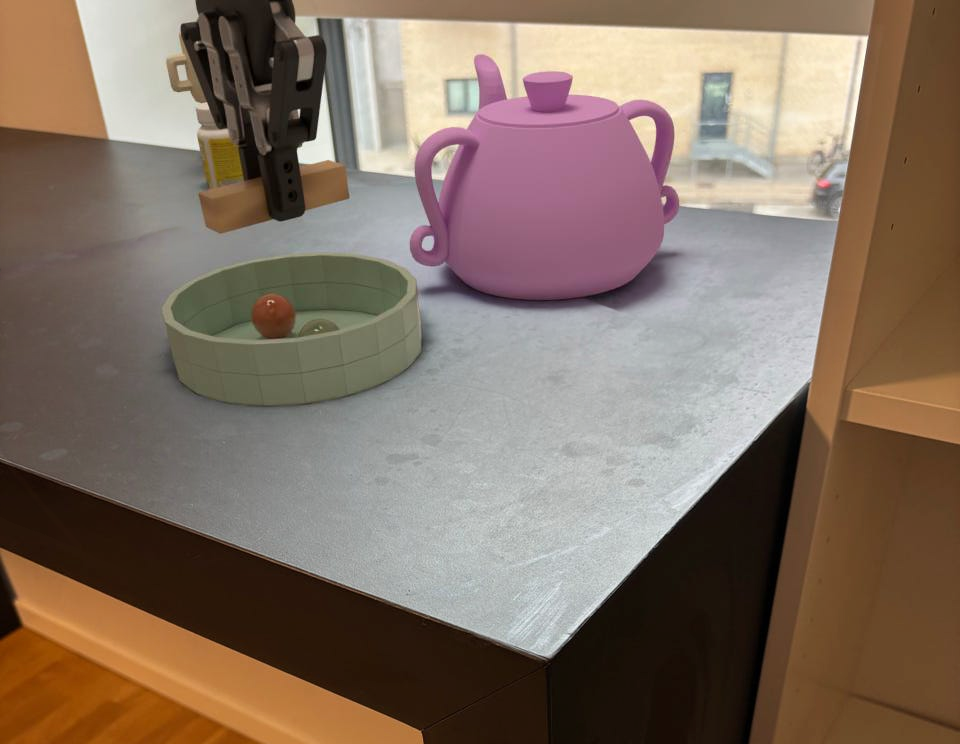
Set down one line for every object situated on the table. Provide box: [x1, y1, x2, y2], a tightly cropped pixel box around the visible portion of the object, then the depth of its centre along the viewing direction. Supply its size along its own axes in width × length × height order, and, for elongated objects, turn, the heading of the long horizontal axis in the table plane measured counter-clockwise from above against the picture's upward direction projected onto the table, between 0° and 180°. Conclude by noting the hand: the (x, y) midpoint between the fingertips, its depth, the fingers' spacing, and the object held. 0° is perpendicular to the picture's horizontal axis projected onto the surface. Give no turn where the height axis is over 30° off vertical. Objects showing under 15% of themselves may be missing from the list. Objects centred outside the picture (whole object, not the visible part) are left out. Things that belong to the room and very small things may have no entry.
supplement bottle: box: [195, 102, 244, 190], centre depth 98 cm, size 5×5×8 cm
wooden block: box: [197, 159, 350, 235], centre depth 61 cm, size 9×2×2 cm, turn 127°
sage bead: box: [298, 319, 340, 337], centre depth 65 cm, size 3×3×3 cm
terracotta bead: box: [251, 293, 296, 339], centre depth 69 cm, size 3×3×3 cm
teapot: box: [409, 53, 680, 301], centre depth 76 cm, size 22×22×14 cm
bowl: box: [160, 251, 423, 407], centre depth 67 cm, size 16×16×4 cm
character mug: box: [165, 31, 207, 104], centre depth 106 cm, size 11×7×13 cm, turn 119°
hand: (278, 212), depth 62 cm, fingers closed on wooden block, 2 cm apart
